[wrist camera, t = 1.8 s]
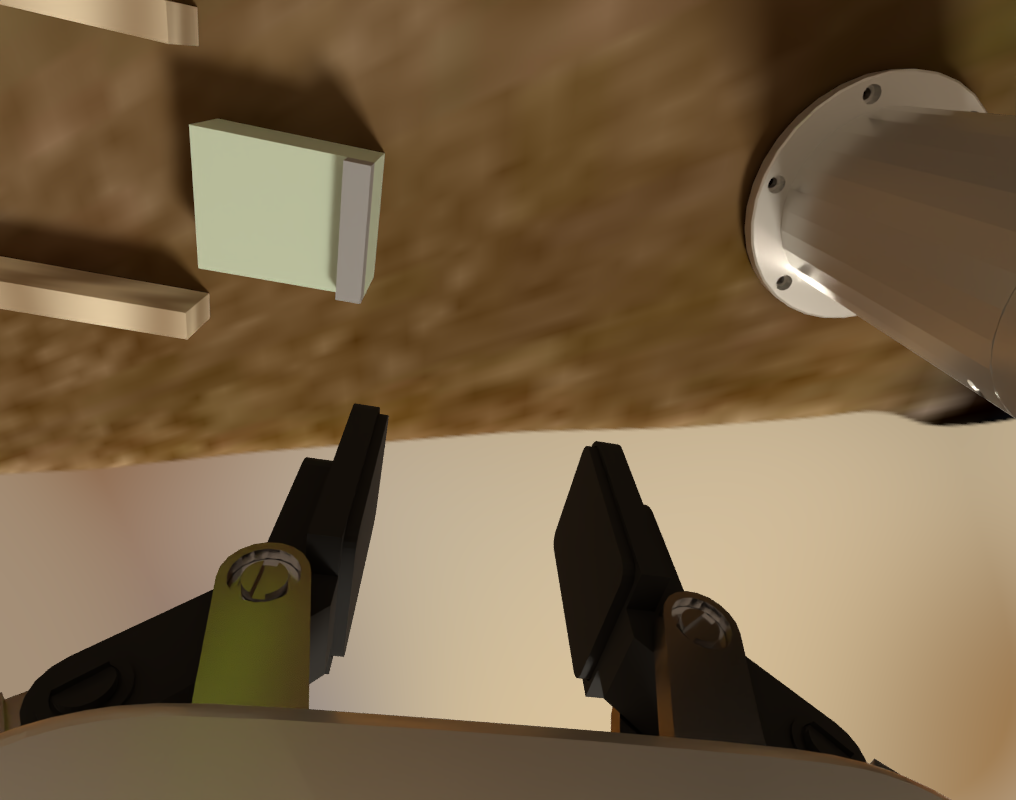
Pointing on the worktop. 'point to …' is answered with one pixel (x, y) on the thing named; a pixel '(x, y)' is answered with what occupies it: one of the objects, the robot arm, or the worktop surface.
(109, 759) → the robot arm
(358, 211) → the pale green block
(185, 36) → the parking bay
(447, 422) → the worktop surface
